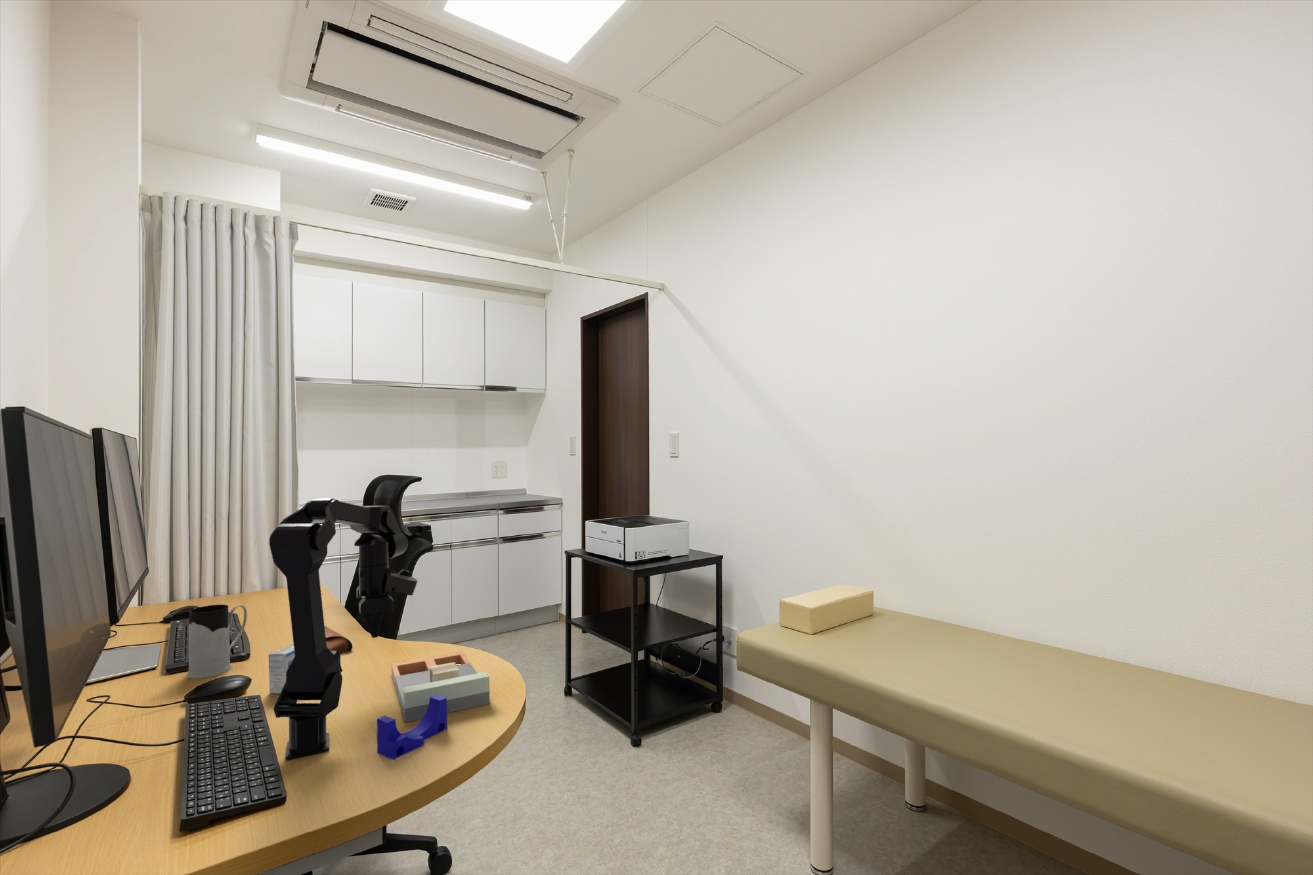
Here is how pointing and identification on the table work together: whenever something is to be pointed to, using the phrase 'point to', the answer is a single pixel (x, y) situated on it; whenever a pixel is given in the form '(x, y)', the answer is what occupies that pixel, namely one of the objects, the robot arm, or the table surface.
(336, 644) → the sunglasses case
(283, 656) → the medicine box
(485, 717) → the table surface
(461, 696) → the trap deck
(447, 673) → the birch block
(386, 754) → the blue cradle bracket
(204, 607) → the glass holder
